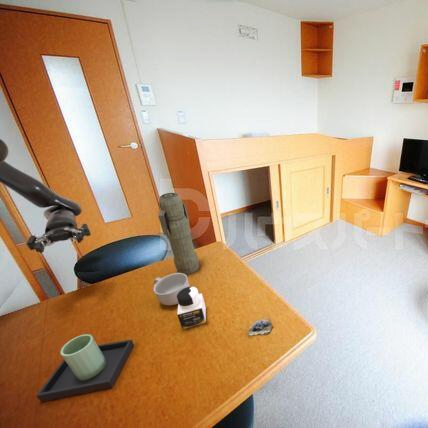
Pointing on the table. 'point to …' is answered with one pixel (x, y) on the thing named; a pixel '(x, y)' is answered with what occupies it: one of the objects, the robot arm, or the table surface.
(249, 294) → the table surface
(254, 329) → the blueberries
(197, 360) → the table surface
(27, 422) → the table surface
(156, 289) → the teacup
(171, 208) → the thermos
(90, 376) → the celadon cup
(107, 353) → the tray
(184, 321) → the medicine bottle
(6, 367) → the table surface
